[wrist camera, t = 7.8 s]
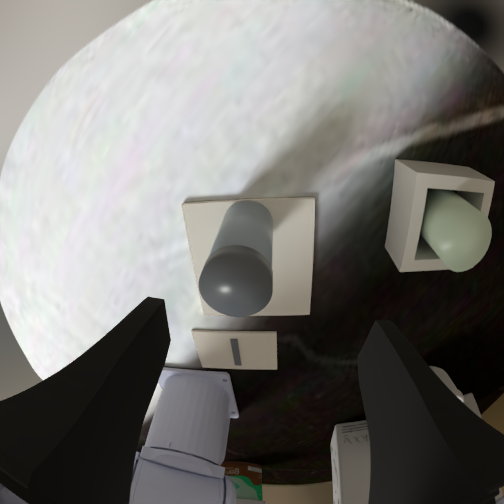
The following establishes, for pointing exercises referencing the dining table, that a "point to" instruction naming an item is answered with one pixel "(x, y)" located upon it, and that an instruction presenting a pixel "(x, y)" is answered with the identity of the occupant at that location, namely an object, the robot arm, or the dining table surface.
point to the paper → (283, 253)
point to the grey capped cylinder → (240, 262)
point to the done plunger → (455, 229)
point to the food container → (245, 481)
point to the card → (237, 349)
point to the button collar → (413, 203)
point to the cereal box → (360, 459)
